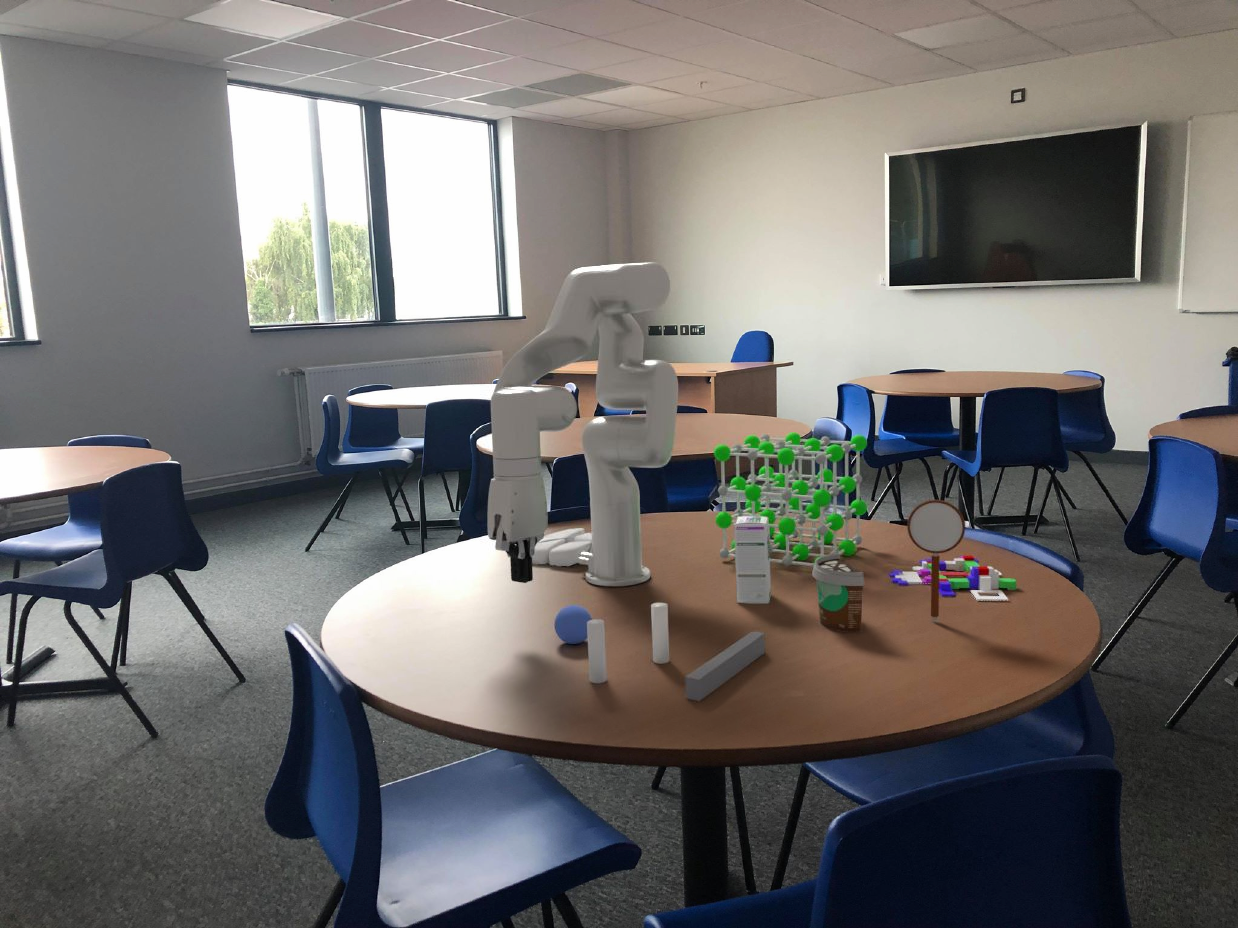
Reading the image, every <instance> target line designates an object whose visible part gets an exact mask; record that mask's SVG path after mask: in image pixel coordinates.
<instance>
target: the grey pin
mask: <svg viewBox="0 0 1238 928" xmlns="http://www.w3.org/2000/svg"><path fill="white" fill-rule="evenodd" d="M587 635H588V638H587V650H588V656H587V657H588V672H589V676H588V677H589V682H590V683H592V684H603V683H605V682H607V681H608V680H607V678H608V677H607V659H606V658H607V656H606V633H605V621H604V620H603V619H597V618H596V619H595V618H594V619H592V620H590V621H588V622H587Z"/></svg>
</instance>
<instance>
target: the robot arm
mask: <svg viewBox="0 0 1238 928" xmlns="http://www.w3.org/2000/svg"><path fill="white" fill-rule="evenodd" d="M670 290H671V280H670V276H669V273H668V272H667V270H666V268H665V267H664V266H663V265H662V264H660V263H658V262H655V261H653V262H652V261H650V262H637V263H636V262H635V263H616V264H607V265H606V264H605V265H598V266H585V267H579V268H576V269H574V270H572V271H570V272H569V273H568V275H567V276H566V277H565V279H564V281H563V283H562V287H561V289H560V291H559V294H558V296H557V298H556V301H555V303H554V306H553V308H552V310H551V313H550V316H549V318H548V321H547V323H546V325H545V327H544V329H543V331H541V333H540V334H539V333H538V335H536V336H535V337H534V338H532V339H531V340H530V341H529V342H528V343H526V344H525V345H524V346H523V347H521V349H519V350H517V352H516V353H514V354H513V355H512V356H511V358H509V360H508V361H507V362H506V364H505V365H504V367H503V368H502V370H501V373H500V375H499V377H498V380H497V383H496V385H495V387H494V390H493V394H492V395H491V398H490V418H491V421H490V422H491V440H492V444H491V445H492V464H493V465H492V466H493V478H491V479H490V483H489V487H488V497H487V498H488V499H487V536H488V539H489V540H492V541H495V544H494V545H495V551H501V552H505V553H506V554H507V555H506V556H507V557H508V558H509V559H510V579H511V582H515V583H516V582H517V583H521V584H522V583H523V584H527V583H528V582H533V581H534V577H533V564H532V557H531V556H533V555H534V552H535V546H536V544H537V542H539V541H540V540H542V539H543V538H544V536H545V532H546V531H547V529H548V525H549V524H548V519H549V517H548V515H549V514H548V504H547V502H548V501H547V494H546V487H545V482H544V476H543V474H542V456H541V454H542V452H541V451H542V450H541V432H543V433H546V432H547V433H553V432H554V433H555V432H562V431H564V430H566V429H567V428H569V427H570V426H571V425H572V424H573V422H574V421H575V419H576V416H577V414H578V413H577V412H578V404H577V401H576V399H575V396H574V395H573V394H572V392H571V391H569V390H568V389H567V388H565V387H562V386H558V385H533V384H535V383H536V382H537V381H538V380H539V379H540V378H542V377H544V376H545V375H547V374H549V373H551V372H553V371H556V370H558V369H562V368H563V367H566V366H568V365H571V364H572V363H574V362H577V361H579V360H580V359H582V358H584V357H585V356H586V355H587V354H588V353H589V351H590V350H591V348H592V345H593V342H594V340H595V337H596V334H597V331H598V333H599V345H598V347H599V350H598V357H597V359H598V360H597V369H596V379H595V397H596V401H597V403H598V404H599V405H600V406H601V407H603V408H605V409H609V410H615V411H645V412H646V413H645V414H646V416H629V415H626V416H625V415H607V416H606V415H605V416H599V417H596V418H593V419H592V420H590V421H589V422H587V424H586V425H585V426H584V428H583V431H582V436H581V444H582V451H583V455H584V459H585V463H586V468H587V474H588V481H589V482H588V485H589V498H590V500H589V505H590V508H589V509H590V523H591V524H590V526H591V528H590V529H591V533H592V552H593V554H591V553H587V552H582V553H581V555H580V558H579V559H578V562H579V563H578V564H579V565H587V566H588V570H586V572H585V581H587V582H588V583H590V584H592V585H596V586H600V587H601V586H602V587H627V586H633V585H637V584H641V583H643V582H646V581H648V580H649V579H650V577H651V570H650V569H649V568H648V567H647V566H644V565H643V560H642V559H643V558H642V554H643V553H642V532H641V530H642V529H641V507H640V506H641V504H640V499H641V498H640V489H639V484H638V481H637V480H636V479H637V478H635V476H634V474H633V472H632V471H631V470H630V468H646V469H650V468H651V469H654V468H655V469H656V468H657V469H658V468H662V467H664V466H666V465H667V464H668V463H669V461H670V460H671V458H672V454H673V451H674V444H675V435H676V425H677V424H676V423H677V411H678V401H679V400H678V399H679V382H678V381H679V380H678V376H677V373H676V370H675V368H674V366H672V364H670V362H668V361H665V360H663V359H662V360H660V359H643V358H644V346H645V345H644V343H645V337H644V334H643V331H642V329H641V326H640V325H639V323H638V322H637V320H636V319H635V318H634V316H633V315H632V314H637V313H644V312H647V311H653V310H657V309H659V308H661V307H662V306H663V305H664V304H665V303H666V301H667V300H668V298H669V295H670V292H671V291H670Z"/></svg>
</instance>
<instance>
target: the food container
mask: <svg viewBox="0 0 1238 928" xmlns="http://www.w3.org/2000/svg"><path fill="white" fill-rule="evenodd" d="M826 555H827V556H823V557H820V558H818V557H817V558H818V559H817V560H816V559H815V560H816V563H815V564H814V563H813V564H814V567H813V566H812V567H813V569H812V572H811V575H812V577H813V578H814V579H816V587H817V588H816V589H817V598H818V599H817V600H818V601H817V602H818V610H819V611H818V613H819V614H818V615H819V623H820V625H821V626H823V628H826V629H829V630H832V631H836V632H843V633H861V632H862V613H863V612H862V611H863V592H864V591H863V589H864V588H863V587H864V586H865V578H864V572H863V571H855V570H854V568H853V567H852V566H851V565H850V564H848V563H845V562H843V561H842V560H841V554H832V555H829V554H826Z"/></svg>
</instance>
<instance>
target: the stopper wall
mask: <svg viewBox="0 0 1238 928" xmlns="http://www.w3.org/2000/svg"><path fill="white" fill-rule="evenodd" d="M765 639H766V638H765V633H763V632H759V631H751V632H749V633H748V634H746V635H744V636H743V637H742V638H740V639H739V640H737V641H736V642H734V643H733V644H732V645H730V646H728V647H727V648H726V649H724V650H723V651H722V652H720V653H717V655H715V656H714V657H712V658H711V659H709V660H708V661H707V662H705V663H703V664H702V665H701V666H699V667H697V669H694V670H693V671H692V672H690V673H689V674H687V675H686V676H685V697H686V698H685V699H688V700H693V701H696V702H701V701H702V700H703V699H705V698H706V697H707V696H708V695H710V694H711V693H712V692H714V691H715V690H717V689H718V688H719V687H720V686H722V685H723V684H725V683H727V682H728V680H729V681H730V679H731V678H733V677H735V675H737V674H738V673H740V672H741V671H742V670H744V669H745V668H747V667H748V666H749V665H750V664H751V663H753V662H754V661H755V660H757V659H759V657H761V656H762V655H764V654H765V652H766V648H765V644H766V643H765Z"/></svg>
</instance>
